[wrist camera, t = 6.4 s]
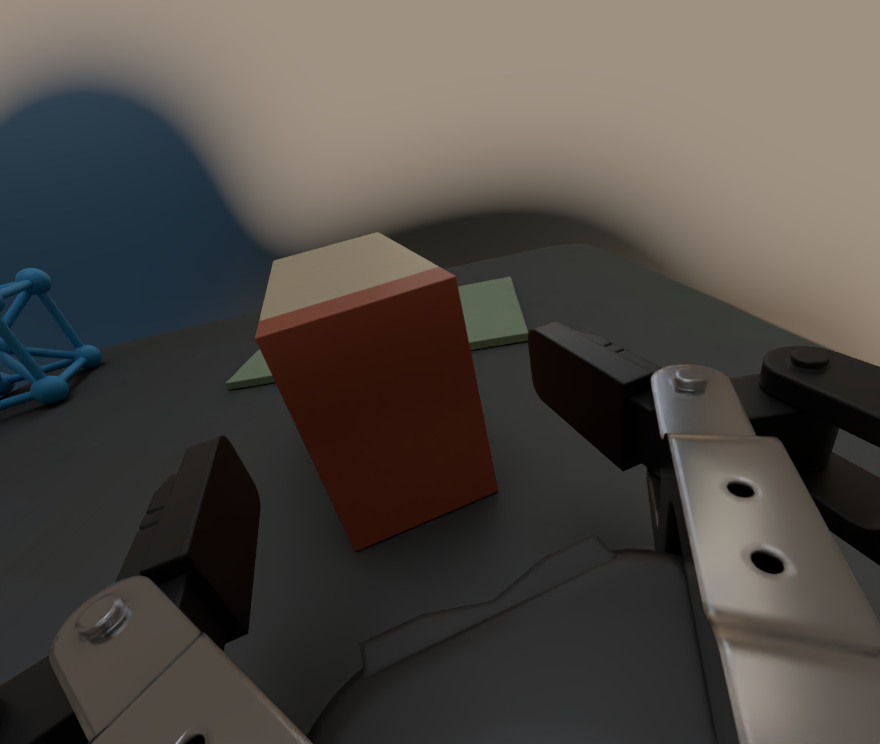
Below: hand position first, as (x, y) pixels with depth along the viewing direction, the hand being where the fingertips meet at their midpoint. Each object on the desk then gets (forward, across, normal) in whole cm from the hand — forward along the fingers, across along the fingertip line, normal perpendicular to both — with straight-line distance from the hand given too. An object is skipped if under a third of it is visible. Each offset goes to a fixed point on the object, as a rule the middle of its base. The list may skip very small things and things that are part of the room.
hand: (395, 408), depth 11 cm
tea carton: (+8, 0, +2) cm, 8 cm away
